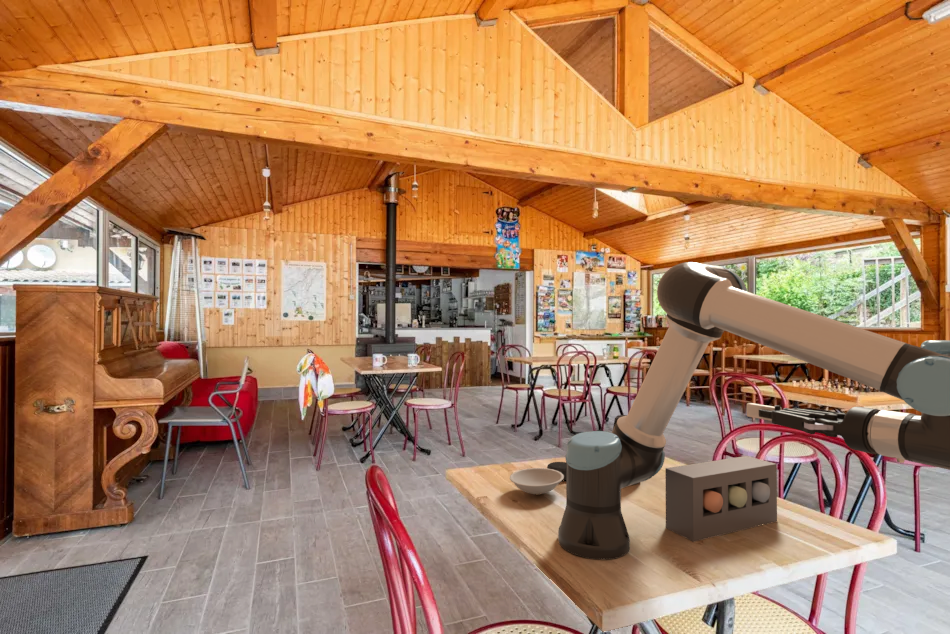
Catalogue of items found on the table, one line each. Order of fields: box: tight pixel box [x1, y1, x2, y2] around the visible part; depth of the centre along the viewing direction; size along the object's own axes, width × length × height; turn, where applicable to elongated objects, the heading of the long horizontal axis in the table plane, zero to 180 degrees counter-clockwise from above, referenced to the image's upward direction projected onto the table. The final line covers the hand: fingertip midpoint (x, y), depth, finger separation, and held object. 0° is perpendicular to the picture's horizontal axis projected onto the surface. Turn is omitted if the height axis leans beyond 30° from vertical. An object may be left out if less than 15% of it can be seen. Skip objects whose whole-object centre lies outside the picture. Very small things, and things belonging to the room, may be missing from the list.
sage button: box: [715, 485, 747, 507], centre depth 114 cm, size 4×6×4 cm
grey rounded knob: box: [738, 480, 770, 502], centre depth 117 cm, size 4×6×4 cm
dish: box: [509, 467, 564, 495], centre depth 137 cm, size 18×14×5 cm
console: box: [665, 455, 778, 542], centre depth 116 cm, size 28×8×14 cm, turn 114°
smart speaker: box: [546, 461, 566, 480], centre depth 152 cm, size 9×9×4 cm
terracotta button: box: [703, 489, 723, 513], centre depth 111 cm, size 4×6×4 cm
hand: (749, 409), depth 102 cm, fingers closed
